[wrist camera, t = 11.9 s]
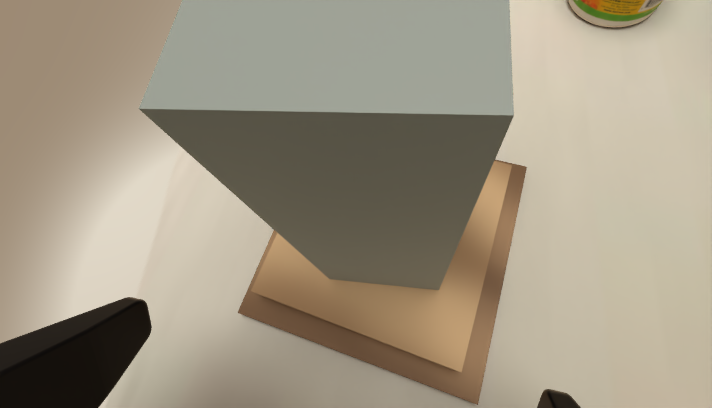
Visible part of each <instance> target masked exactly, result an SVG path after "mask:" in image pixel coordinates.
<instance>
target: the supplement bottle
mask: <svg viewBox="0 0 712 408" xmlns="http://www.w3.org/2000/svg"><path fill="white" fill-rule="evenodd" d="M568 1H569V4H570V6H571V8H572V9H573V10H574V12H575V13H576V14H577V15H578V16H580V17H581V18H583V19H584V20H586V21H588V22H590V23H592V24H595V25H599V26H604V27H625V26H630V25H634V24H637V23H639V22H641V21H643V20H645V19H646V18H648V17H649V16H650V15H651V14H652V13H653V12H654V11H655V10H656V9H657V7H658V6H659V5H660V4H661V2H662V1H663V0H568Z"/></svg>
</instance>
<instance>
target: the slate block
mask: <svg viewBox="0 0 712 408" xmlns="http://www.w3.org/2000/svg"><path fill="white" fill-rule="evenodd" d="M139 109H140V110H141V111H142V112H143V113H144V114H145V115H146V116H148V117H149V118H150V119H151V120H152V121H153V122H154V123H155V124H156V125H158V126H159V127H160V128H161V129H162V130H163V131H164V132H165V133H167V134H168V135H169V136H170V137H171V138H172V139H173V140H174V141H175V142H177V143H178V144H179V145H180V146H181V147H182V148H183V149H184V150H186V151H187V152H188V153H189V154H190V155H191V156H192V157H193V158H194V159H196V160H197V161H198V162H199V163H200V164H201V165H202V166H203V167H205V168H206V169H207V170H208V171H209V172H210V173H211V174H212V175H214V176H215V177H216V178H217V179H218V180H219V181H220V182H221V183H222V184H224V185H225V186H226V187H227V188H228V189H229V190H230V191H231V192H233V193H234V194H235V195H236V196H237V197H238V198H239V199H240V200H241V201H243V202H244V203H245V204H246V205H247V206H248V207H249V208H250V209H252V210H253V211H254V212H255V213H256V214H257V215H258V216H259V217H261V218H262V219H263V220H264V221H265V222H266V223H267V224H268V225H269V226H271V227H272V228H273V229H274V230H275V231H276V232H277V233H278V234H280V235H281V236H282V237H283V238H284V239H285V240H286V241H287V242H288V243H290V244H291V245H292V246H293V247H294V248H295V249H296V250H297V251H299V252H300V253H301V254H302V255H303V256H304V257H305V258H306V259H308V260H309V261H310V262H311V263H312V264H313V265H314V266H315V267H316V268H318V269H319V270H320V271H321V272H322V273H323V274H324V275H325V276H327V277H328V278H329V279H333V280H343V281H353V282H363V283H372V284H382V285H392V286H402V287H412V288H422V289H432V290H439V289H440V286H441V284H442V282H443V279H444V277H445V275H446V272H447V270H448V268H449V265H450V263H451V261H452V258H453V256H454V254H455V251H456V249H457V247H458V244H459V242H460V240H461V237H462V235H463V233H464V230H465V228H466V226H467V223H468V221H469V219H470V216H471V214H472V212H473V209H474V207H475V205H476V202H477V200H478V198H479V195H480V193H481V191H482V188H483V186H484V184H485V181H486V179H487V177H488V174H489V172H490V170H491V167H492V165H493V163H494V160H495V158H496V156H497V153H498V151H499V149H500V146H501V144H502V142H503V139H504V137H505V135H506V132H507V130H508V128H509V125H510V123H511V121H512V118H513V116H514V110H513V84H512V59H511V34H510V9H509V0H182V3H181V6H180V8H179V10H178V13H177V15H176V18H175V21H174V23H173V26H172V28H171V30H170V33H169V35H168V38H167V40H166V43H165V45H164V48H163V50H162V53H161V55H160V58H159V60H158V63H157V65H156V67H155V70H154V73H153V75H152V77H151V80H150V82H149V85H148V87H147V90H146V92H145V95H144V98H143V100H142V102H141V105H140V107H139Z"/></svg>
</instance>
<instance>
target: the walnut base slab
mask: <svg viewBox="0 0 712 408" xmlns="http://www.w3.org/2000/svg"><path fill="white" fill-rule="evenodd" d="M494 161H497V162H501V163H505V164H509V165H512V168H511V172H510V176H509V180H508V184H507V188H506V193H505V197H504V201H503V205H502V209H501V213H500V217H499V221H498V225H497V229H496V234H495V238H494V242H493V246H492V250H491V254H490V258H489V262H488V266H487V270H486V275H485V279H484V283H483V287H482V291H481V295H480V299H479V303H478V307H477V311H476V315H475V320H474V324H473V328H472V332H471V336H470V340H469V344H468V348H467V352H466V356H465V361H464V365H463V369H462V373H461V372H458V371H455V370H453V369H450V368H447V367H445V366H442V365H440V364H437V363H434V362H432V361H429V360H427V359H424V358H422V357H419V356H416V355H414V354H411V353H409V352H406V351H403V350H401V349H398V348H396V347H393V346H391V345H388V344H385V343H383V342H380V341H378V340H375V339H372V338H370V337H367V336H365V335H362V334H360V333H357V332H354V331H352V330H349V329H347V328H344V327H341V326H339V325H336V324H334V323H331V322H329V321H326V320H323V319H321V318H318V317H316V316H313V315H310V314H308V313H305V312H303V311H300V310H297V309H295V308H292V307H290V306H287V305H285V304H282V303H279V302H277V301H274V300H272V299H269V298H266V297H264V296H261V295H259V294H257V293H254V292H252V291H251V289H252V287H253V285H254V283H255V281H256V278H257V276H258V274H259V272H260V270H261V267H262V265H263V263H264V261H265V259H266V257H267V254H268V252H269V250H270V248H271V246H272V243H273V241H274V239H275V237H276V235H277V232H276V231H275V230H274V231H273V234H272V236H271V238H270V240H269V243H268V245H267V247H266V250H265V252H264V254H263V256H262V259H261V261H260V263H259V265H258V268H257V270H256V272H255V275H254V277H253V279H252V281H251V284H250V286H249V288H248V290H247V293H246V295H245V297H244V299H243V302H242V304H241V306H240V309H239V311H238V313H240V314H243V315H245V316H248V317H250V318H253V319H256V320H258V321H261V322H263V323H266V324H269V325H271V326H274V327H276V328H279V329H282V330H284V331H287V332H290V333H292V334H295V335H297V336H300V337H303V338H305V339H308V340H310V341H313V342H316V343H318V344H321V345H323V346H326V347H329V348H331V349H334V350H336V351H339V352H342V353H344V354H347V355H349V356H352V357H355V358H357V359H360V360H363V361H365V362H368V363H370V364H373V365H376V366H378V367H381V368H383V369H386V370H389V371H391V372H394V373H396V374H399V375H402V376H404V377H407V378H409V379H412V380H415V381H417V382H420V383H422V384H425V385H428V386H430V387H433V388H436V389H438V390H441V391H443V392H446V393H449V394H451V395H454V396H456V397H459V398H462V399H464V400H467V401H469V402H472V403H475V404H477V405H478V401H479V396H480V391H481V386H482V382H483V377H484V372H485V367H486V362H487V357H488V352H489V348H490V343H491V338H492V333H493V328H494V323H495V318H496V314H497V309H498V304H499V299H500V294H501V289H502V285H503V280H504V275H505V270H506V265H507V260H508V255H509V251H510V246H511V241H512V236H513V231H514V226H515V221H516V217H517V212H518V207H519V202H520V197H521V192H522V188H523V183H524V178H525V173H526V168H527V167H525V166H520V165H516V164H512V163H507V162H503V161H499V160H494Z"/></svg>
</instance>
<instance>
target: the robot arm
mask: <svg viewBox="0 0 712 408" xmlns="http://www.w3.org/2000/svg"><path fill="white" fill-rule="evenodd" d="M151 328H152V326H151V321H150V316H149V311H148V307H147V303H146V302H145V301H144V300H141V299H136V298H132V297H128V298H124V299H121V300H118V301H116V302H113V303H110V304H107V305H105V306H102V307H99V308H96V309H94V310H91V311H88V312H85V313H83V314H80V315H77V316H74V317H72V318H69V319H66V320H63V321H61V322H58V323H55V324H52V325H50V326H47V327H44V328H41V329H39V330H36V331H33V332H30V333H28V334H25V335H22V336H19V337H17V338H14V339H11V340H8V341H6V342H3V343H1V344H0V408H98V407H99V406H100V405H101V404H102V402H103V401H104V400H105V399H106V397H107V396H108V395H109V393H110V392H111V390H112V389H113V388H114V386H115V385H116V383H117V382H118V381H119V379H120V378H121V376H122V375H123V373H124V372H125V370H126V369H127V368H128V366H129V365H130V363H131V362H132V360H133V359H134V357H135V356H136V355H137V353H138V352H139V350H140V349H141V347H142V346H143V344H144V343H145V342H146V340H147V339H148V337H149V335H150V333H151ZM537 408H581V407H580V406H579V405H578V404H577V403H576V402H575V400H574V399H573V398H572V397H571V396H570V395H568V394H567V393H564V392H560V391H555V390H551V389H546V390H544V391H543V393H542V395H541V398H540V401H539V404H538V407H537Z"/></svg>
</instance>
